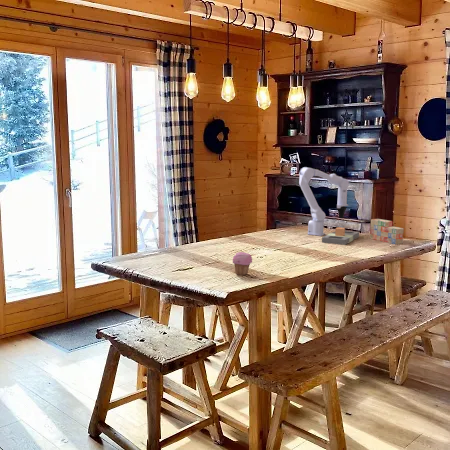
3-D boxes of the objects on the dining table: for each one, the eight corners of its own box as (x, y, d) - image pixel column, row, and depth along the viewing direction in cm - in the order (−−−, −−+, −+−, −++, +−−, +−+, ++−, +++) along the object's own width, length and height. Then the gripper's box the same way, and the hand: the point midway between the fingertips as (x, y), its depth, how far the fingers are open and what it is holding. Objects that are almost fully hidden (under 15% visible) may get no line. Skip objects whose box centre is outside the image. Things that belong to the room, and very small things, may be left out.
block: (335, 235, 325) (335, 228, 324) (337, 234, 329) (337, 227, 328) (342, 236, 323) (342, 228, 322) (344, 235, 327) (345, 227, 326)
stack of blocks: (402, 243, 320) (404, 223, 318) (395, 244, 317) (396, 223, 315) (377, 237, 338) (378, 218, 336) (369, 238, 335) (370, 218, 333)
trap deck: (321, 242, 319) (322, 237, 318) (337, 234, 346) (337, 230, 345) (345, 244, 312) (345, 239, 312) (359, 236, 339) (359, 232, 339)
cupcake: (235, 271, 245) (235, 249, 244) (253, 272, 243) (254, 251, 241) (229, 275, 237) (230, 253, 235) (249, 277, 235) (249, 254, 233)
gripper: (345, 198, 336) (344, 220, 338) (351, 196, 349) (350, 217, 351) (334, 197, 339) (333, 219, 342) (340, 195, 352) (339, 216, 354)
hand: (341, 218), depth 346 cm, fingers closed
